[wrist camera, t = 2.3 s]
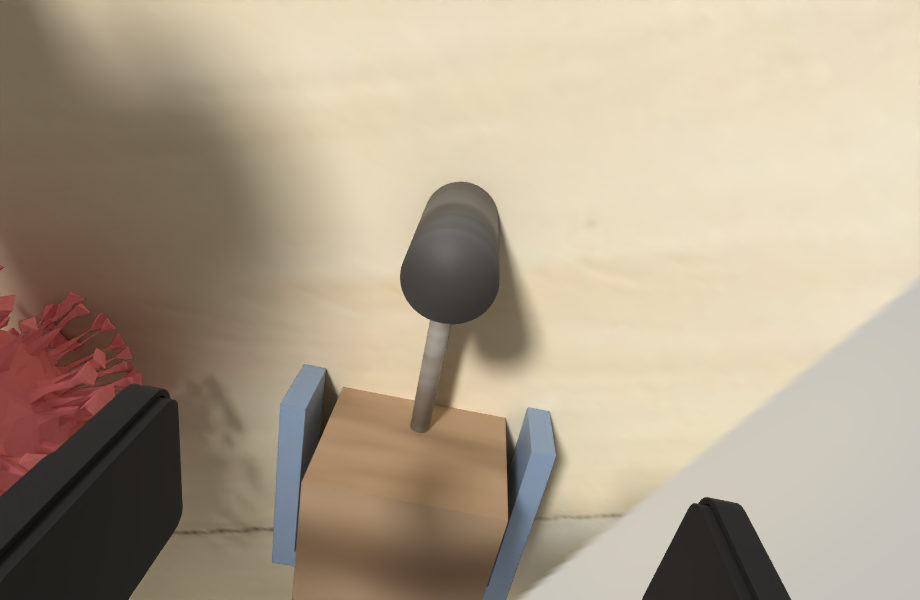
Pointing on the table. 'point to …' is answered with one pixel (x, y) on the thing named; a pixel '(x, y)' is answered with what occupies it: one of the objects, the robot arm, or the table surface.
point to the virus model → (49, 385)
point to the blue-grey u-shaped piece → (303, 438)
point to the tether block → (414, 445)
